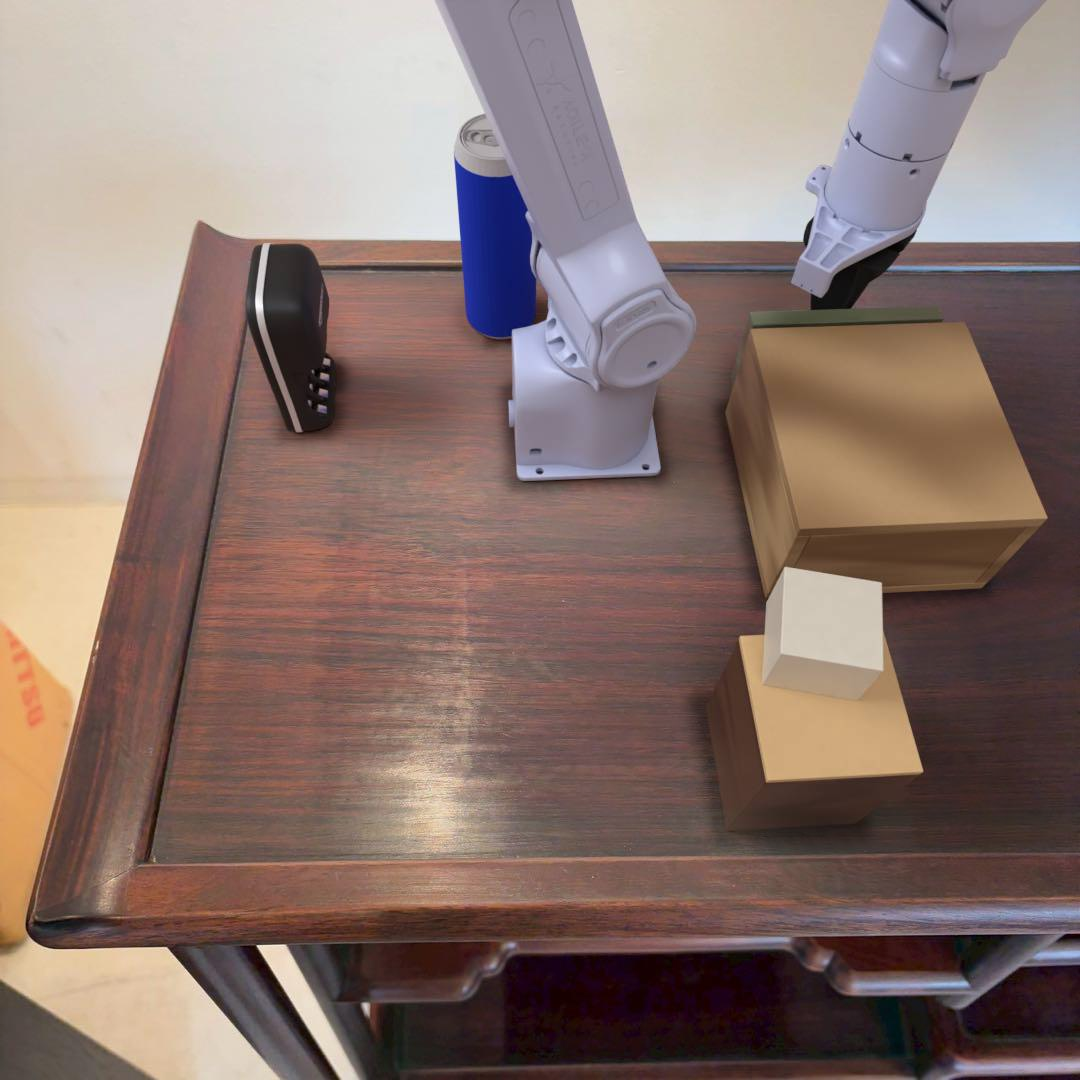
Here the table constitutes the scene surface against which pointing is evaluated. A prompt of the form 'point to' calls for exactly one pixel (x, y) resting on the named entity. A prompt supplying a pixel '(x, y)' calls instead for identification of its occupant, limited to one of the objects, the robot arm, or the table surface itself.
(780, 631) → the block
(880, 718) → the coaster
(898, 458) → the cabinet
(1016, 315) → the table surface
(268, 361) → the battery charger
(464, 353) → the table surface
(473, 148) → the beverage can
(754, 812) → the stand
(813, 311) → the drawer
